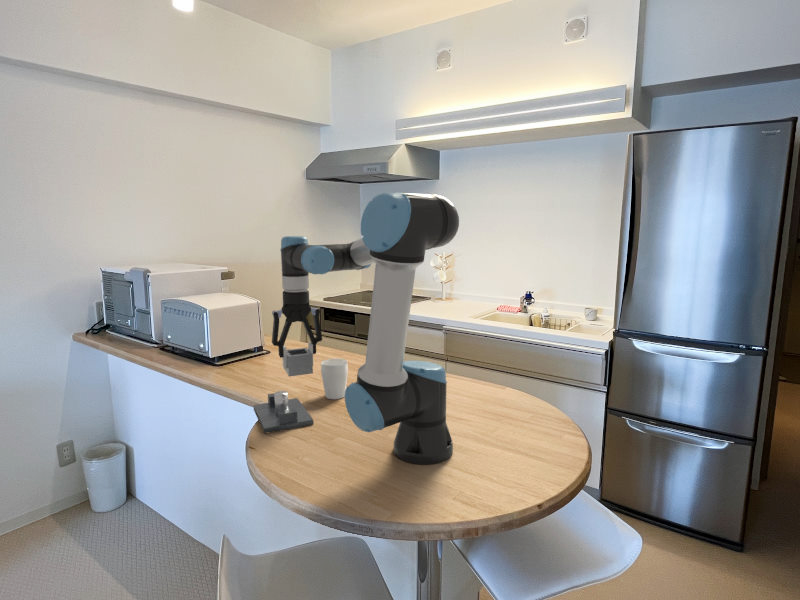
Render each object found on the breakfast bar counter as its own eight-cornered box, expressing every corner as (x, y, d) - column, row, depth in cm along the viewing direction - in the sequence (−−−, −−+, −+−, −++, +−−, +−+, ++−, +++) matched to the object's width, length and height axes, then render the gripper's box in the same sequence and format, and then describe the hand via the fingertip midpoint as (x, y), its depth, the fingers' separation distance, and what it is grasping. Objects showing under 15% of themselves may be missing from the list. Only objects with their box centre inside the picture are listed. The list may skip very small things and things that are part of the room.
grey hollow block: (312, 373, 142) (312, 353, 141) (289, 376, 140) (288, 356, 139) (307, 366, 149) (306, 347, 148) (284, 369, 146) (283, 350, 145)
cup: (343, 401, 160) (342, 366, 158) (318, 400, 161) (316, 365, 159) (352, 392, 168) (351, 359, 166) (327, 390, 170) (326, 357, 168)
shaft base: (313, 424, 141) (312, 399, 140) (264, 433, 136) (263, 408, 134) (297, 402, 159) (296, 380, 158) (253, 409, 154) (252, 386, 152)
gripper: (326, 286, 147) (327, 358, 151) (258, 289, 139) (261, 366, 143) (332, 289, 141) (334, 365, 145) (262, 293, 133) (265, 373, 137)
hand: (298, 365), depth 144 cm, fingers closed on grey hollow block, 7 cm apart
